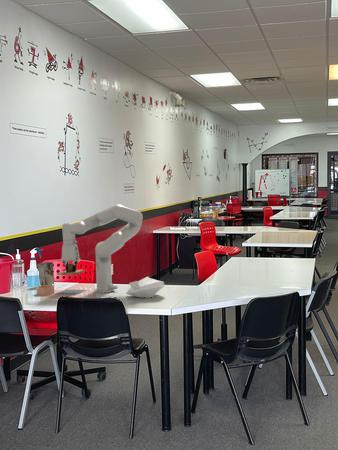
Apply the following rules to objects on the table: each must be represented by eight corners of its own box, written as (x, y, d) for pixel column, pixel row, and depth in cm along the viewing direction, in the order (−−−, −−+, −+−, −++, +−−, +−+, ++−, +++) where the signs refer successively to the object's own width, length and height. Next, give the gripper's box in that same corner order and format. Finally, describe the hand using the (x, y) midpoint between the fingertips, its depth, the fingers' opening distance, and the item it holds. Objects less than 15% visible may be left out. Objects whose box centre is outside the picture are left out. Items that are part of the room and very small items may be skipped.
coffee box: (47, 284, 400) (46, 261, 399) (54, 285, 397) (53, 262, 396) (38, 286, 392) (37, 263, 391) (45, 287, 389) (44, 263, 388)
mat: (87, 291, 372) (87, 290, 372) (76, 295, 358) (76, 294, 358) (66, 290, 377) (66, 289, 377) (54, 294, 363) (54, 293, 363)
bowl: (56, 293, 366) (56, 285, 366) (48, 296, 357) (48, 288, 356) (42, 292, 370) (42, 285, 369) (34, 295, 360) (33, 287, 360)
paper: (146, 291, 364) (145, 272, 363) (173, 296, 347) (172, 275, 346) (115, 298, 347) (114, 277, 346) (142, 303, 329) (141, 281, 328)
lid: (85, 271, 371) (84, 262, 370) (75, 274, 358) (75, 265, 358) (67, 271, 375) (66, 262, 374) (57, 274, 363) (56, 265, 362)
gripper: (84, 241, 366) (85, 270, 367) (60, 242, 371) (62, 270, 373) (78, 243, 359) (80, 272, 360) (54, 243, 364) (56, 272, 366)
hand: (71, 271), depth 367 cm, fingers closed on lid, 4 cm apart
